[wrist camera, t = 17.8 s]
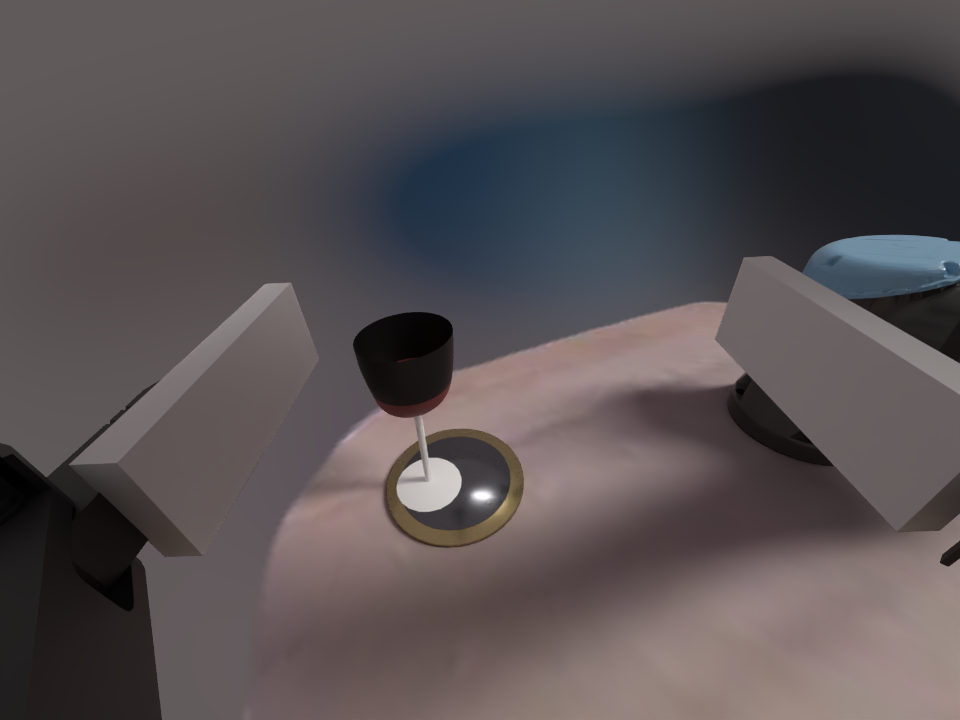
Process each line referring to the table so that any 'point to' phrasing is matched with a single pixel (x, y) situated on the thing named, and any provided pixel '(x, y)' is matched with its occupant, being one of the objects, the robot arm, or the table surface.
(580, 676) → the table surface
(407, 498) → the wineglass
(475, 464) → the coaster
